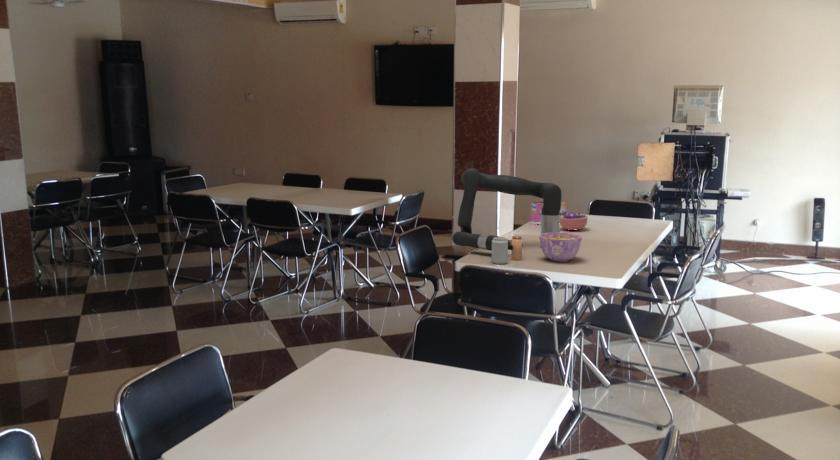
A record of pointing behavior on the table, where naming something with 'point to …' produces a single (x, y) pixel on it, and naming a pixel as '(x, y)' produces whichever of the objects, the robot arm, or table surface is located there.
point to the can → (499, 250)
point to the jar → (516, 248)
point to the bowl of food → (560, 245)
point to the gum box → (537, 208)
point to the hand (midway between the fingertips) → (517, 246)
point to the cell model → (573, 221)
